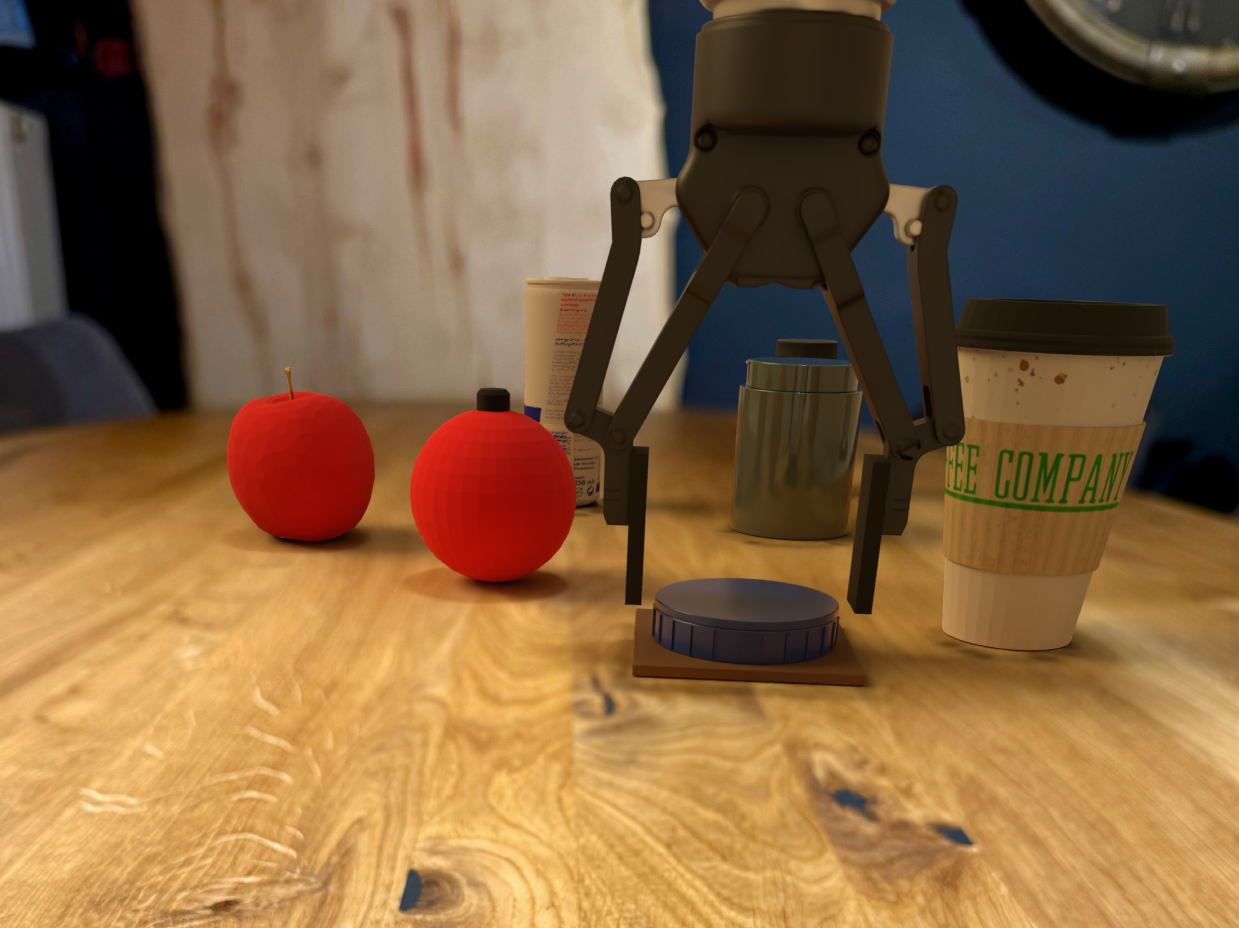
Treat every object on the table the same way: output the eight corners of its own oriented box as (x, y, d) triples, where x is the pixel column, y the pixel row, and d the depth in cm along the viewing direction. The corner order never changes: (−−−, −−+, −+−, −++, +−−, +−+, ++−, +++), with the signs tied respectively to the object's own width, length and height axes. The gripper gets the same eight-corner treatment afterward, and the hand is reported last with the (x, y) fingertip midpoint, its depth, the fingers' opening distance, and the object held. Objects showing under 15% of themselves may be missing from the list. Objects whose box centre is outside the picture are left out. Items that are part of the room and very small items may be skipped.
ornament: (603, 591, 69) (610, 394, 64) (448, 605, 65) (445, 397, 61) (532, 557, 76) (534, 378, 71) (389, 569, 72) (382, 380, 68)
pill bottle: (847, 492, 101) (865, 342, 96) (787, 497, 98) (802, 342, 93) (798, 481, 106) (813, 337, 101) (739, 485, 103) (751, 337, 98)
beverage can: (611, 499, 95) (619, 278, 88) (580, 511, 90) (586, 278, 84) (544, 492, 97) (547, 275, 90) (510, 503, 92) (511, 275, 86)
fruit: (206, 531, 80) (189, 361, 76) (329, 517, 86) (320, 357, 81) (280, 557, 74) (266, 373, 70) (408, 540, 80) (403, 368, 75)
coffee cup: (874, 636, 62) (920, 297, 55) (942, 599, 69) (990, 296, 63) (1081, 673, 57) (1158, 307, 50) (1131, 629, 64) (1203, 305, 58)
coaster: (835, 625, 63) (836, 616, 63) (864, 686, 55) (865, 674, 54) (635, 617, 64) (636, 607, 64) (631, 675, 55) (632, 664, 55)
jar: (838, 519, 90) (857, 358, 85) (854, 541, 83) (875, 367, 78) (726, 515, 91) (738, 354, 86) (732, 537, 83) (746, 363, 79)
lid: (705, 607, 64) (708, 569, 63) (863, 635, 60) (868, 595, 59) (617, 642, 58) (619, 601, 57) (787, 677, 54) (792, 633, 53)
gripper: (1063, 40, 51) (972, 592, 61) (515, 28, 52) (512, 574, 62) (1124, 7, 45) (1011, 633, 54) (493, -6, 45) (495, 612, 55)
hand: (745, 602), depth 58 cm, fingers open, 10 cm apart
